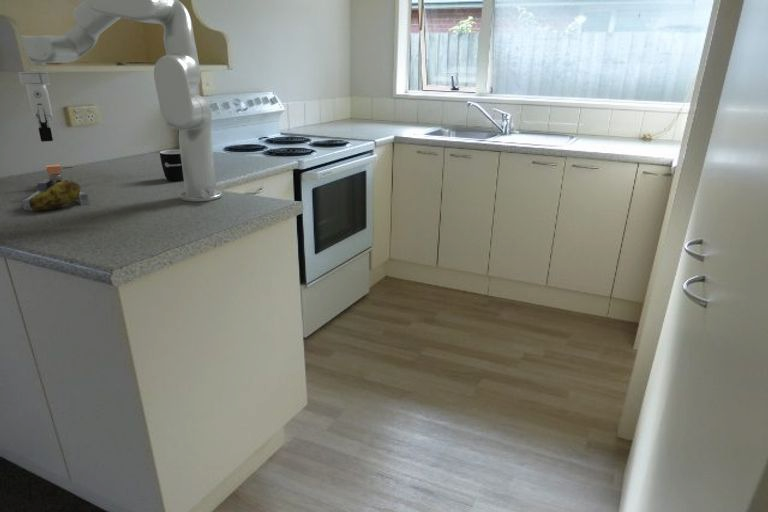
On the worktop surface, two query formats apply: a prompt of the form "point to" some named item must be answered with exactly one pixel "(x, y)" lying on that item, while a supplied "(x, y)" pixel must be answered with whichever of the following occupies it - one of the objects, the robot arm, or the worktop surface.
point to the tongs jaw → (82, 197)
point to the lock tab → (53, 169)
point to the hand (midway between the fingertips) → (47, 140)
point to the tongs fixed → (41, 189)
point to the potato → (56, 196)
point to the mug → (172, 165)
